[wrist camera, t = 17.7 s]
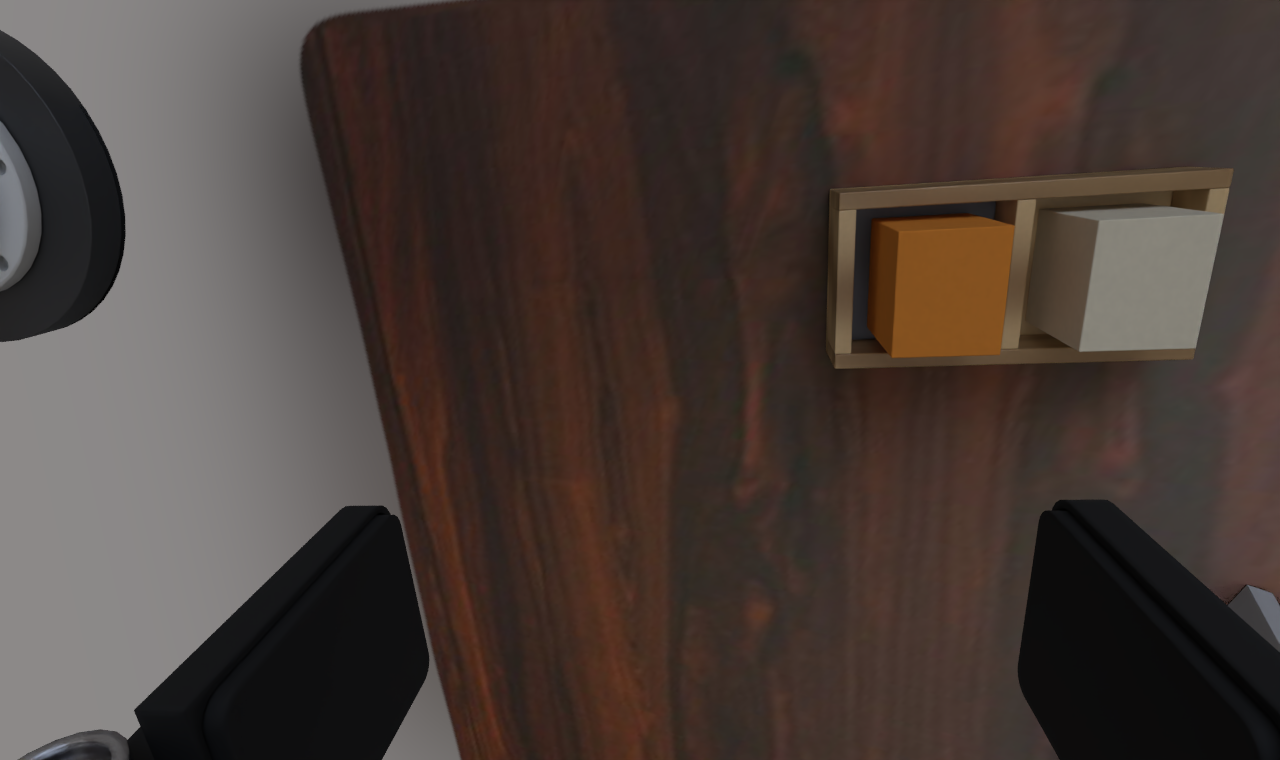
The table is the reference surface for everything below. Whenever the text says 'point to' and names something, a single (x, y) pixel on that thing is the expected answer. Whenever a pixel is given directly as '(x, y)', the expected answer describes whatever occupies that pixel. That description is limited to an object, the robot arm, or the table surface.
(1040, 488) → the table surface
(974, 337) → the orange block
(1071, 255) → the cream block
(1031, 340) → the wooden frame
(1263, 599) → the grey napkin holder
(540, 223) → the table surface
